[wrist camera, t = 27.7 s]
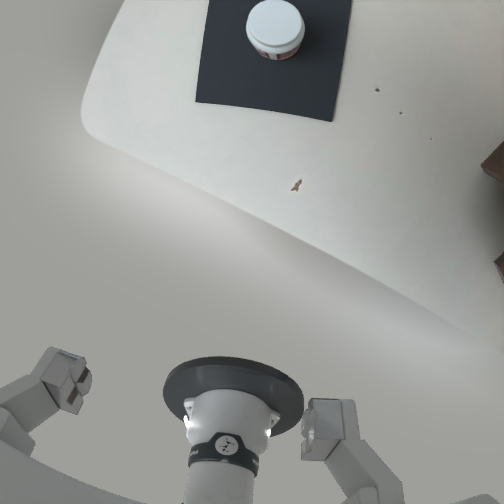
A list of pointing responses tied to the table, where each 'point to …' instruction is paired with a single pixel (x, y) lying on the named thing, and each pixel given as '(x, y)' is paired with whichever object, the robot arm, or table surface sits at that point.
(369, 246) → the table surface
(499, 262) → the desk
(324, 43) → the mat
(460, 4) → the table surface
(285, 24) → the pill bottle
